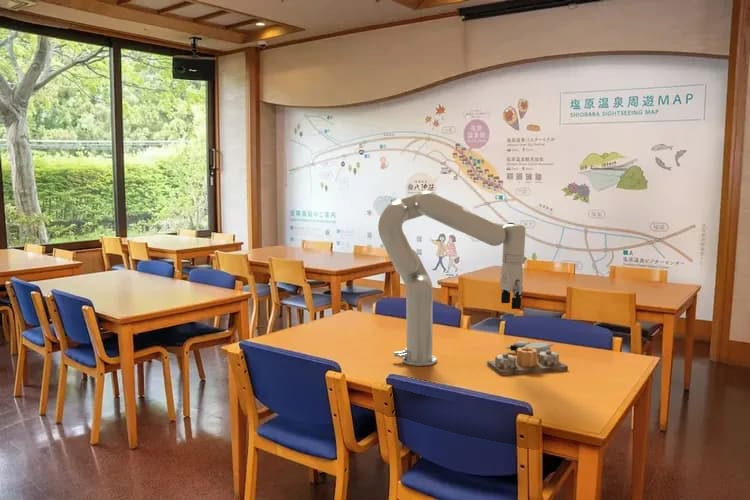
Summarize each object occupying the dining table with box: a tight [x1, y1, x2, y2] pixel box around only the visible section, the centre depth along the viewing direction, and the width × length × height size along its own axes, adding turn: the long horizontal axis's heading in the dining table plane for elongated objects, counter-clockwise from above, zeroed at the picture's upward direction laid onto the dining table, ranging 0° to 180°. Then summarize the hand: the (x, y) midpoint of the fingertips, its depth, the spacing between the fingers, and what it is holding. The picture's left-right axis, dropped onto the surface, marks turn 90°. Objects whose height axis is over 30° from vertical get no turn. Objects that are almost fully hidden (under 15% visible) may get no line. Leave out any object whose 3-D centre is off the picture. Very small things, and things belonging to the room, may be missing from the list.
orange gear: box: [516, 347, 538, 367], centre depth 218 cm, size 7×7×5 cm
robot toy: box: [506, 340, 555, 357], centre depth 235 cm, size 12×4×15 cm
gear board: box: [486, 349, 569, 376], centre depth 218 cm, size 25×12×6 cm, turn 102°
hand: (510, 305), depth 222 cm, fingers open, 9 cm apart
